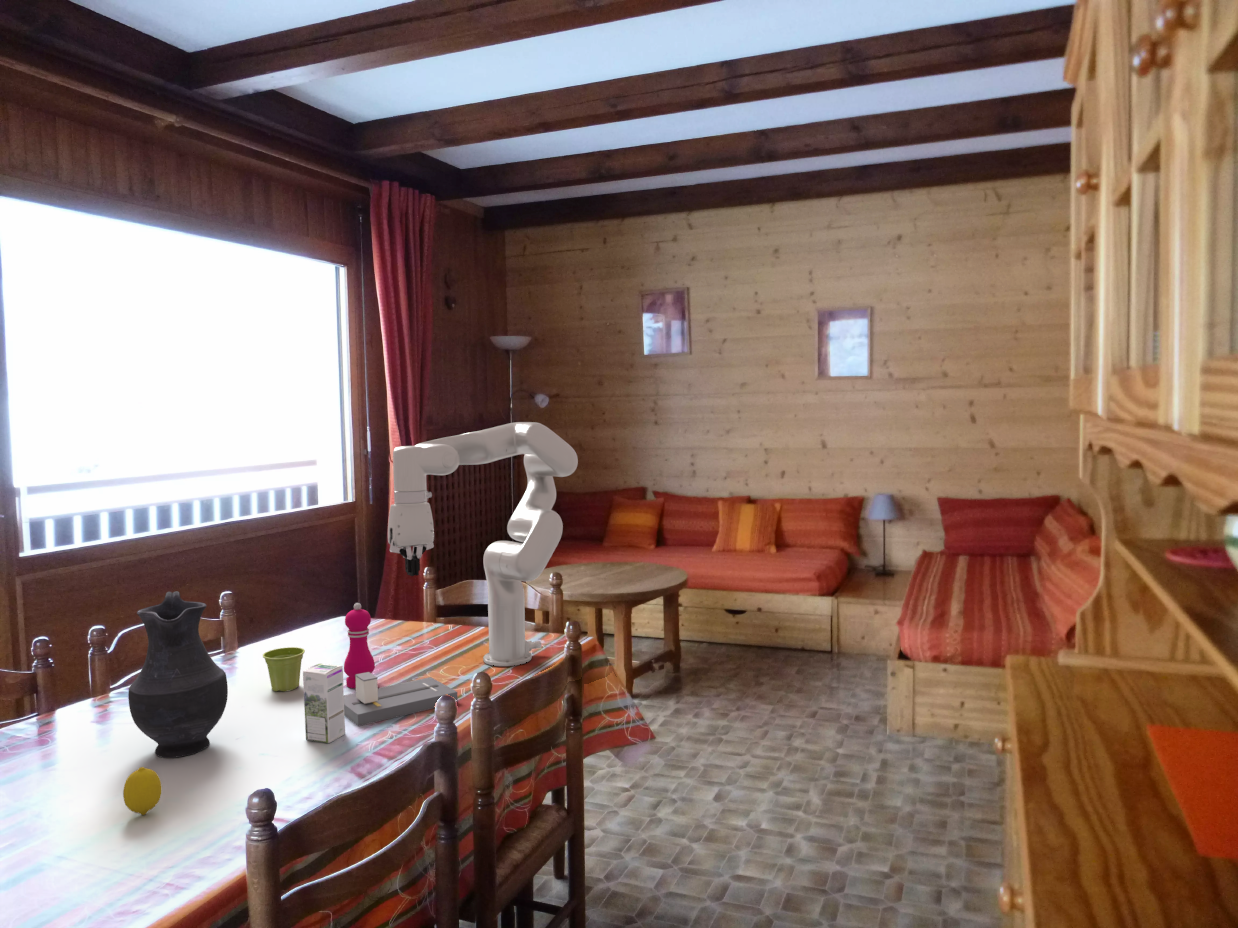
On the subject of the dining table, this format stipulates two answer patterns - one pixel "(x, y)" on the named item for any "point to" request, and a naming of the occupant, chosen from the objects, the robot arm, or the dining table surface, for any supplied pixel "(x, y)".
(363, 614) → the pepper mill
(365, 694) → the block
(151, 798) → the lemon
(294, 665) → the plant pot
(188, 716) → the pitcher
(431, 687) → the console
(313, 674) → the syrup box
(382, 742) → the dining table surface
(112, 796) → the dining table surface
